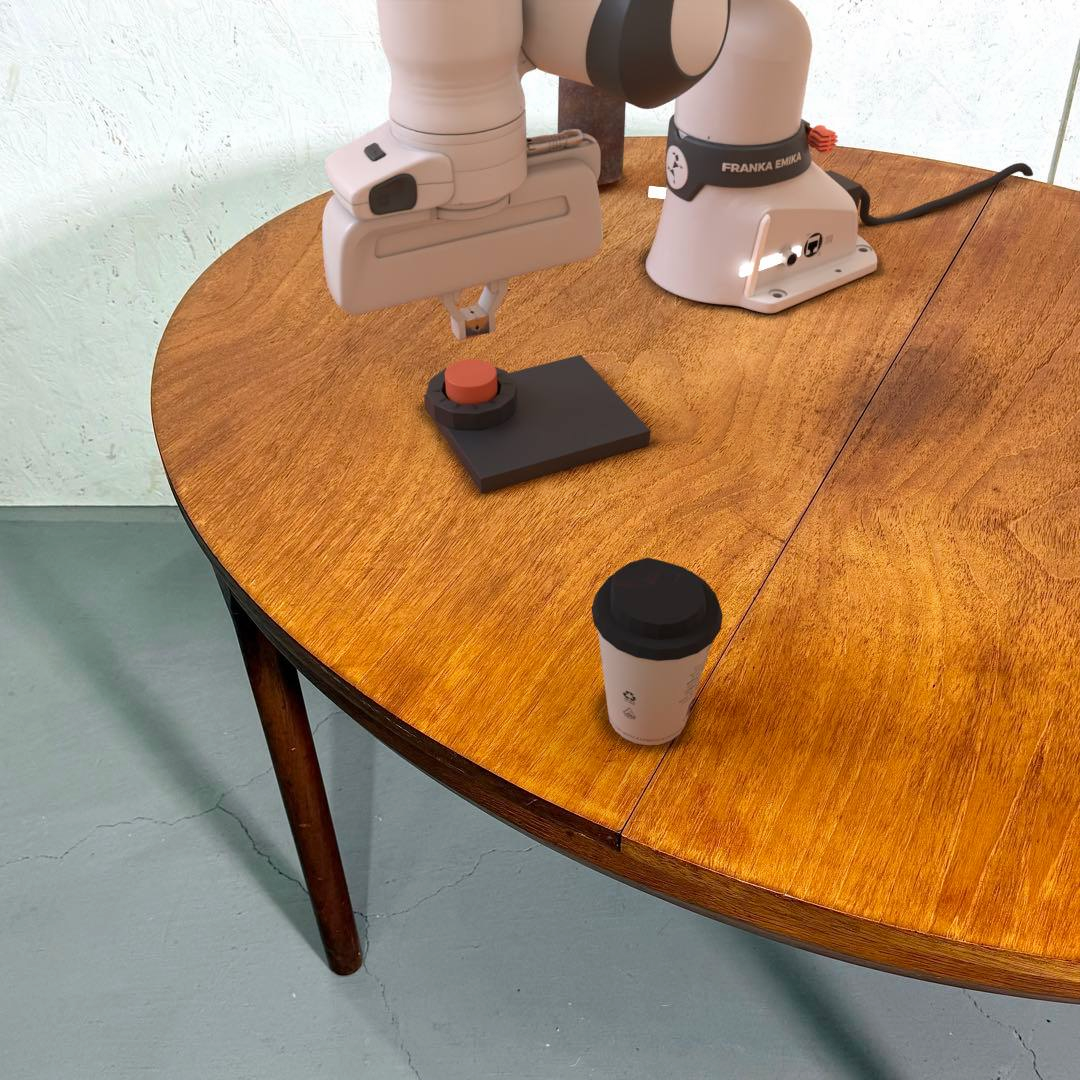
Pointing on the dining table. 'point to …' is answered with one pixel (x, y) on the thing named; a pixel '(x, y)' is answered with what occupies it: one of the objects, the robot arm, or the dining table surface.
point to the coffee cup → (653, 646)
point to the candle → (595, 123)
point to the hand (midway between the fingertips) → (473, 332)
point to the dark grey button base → (536, 423)
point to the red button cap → (471, 381)
